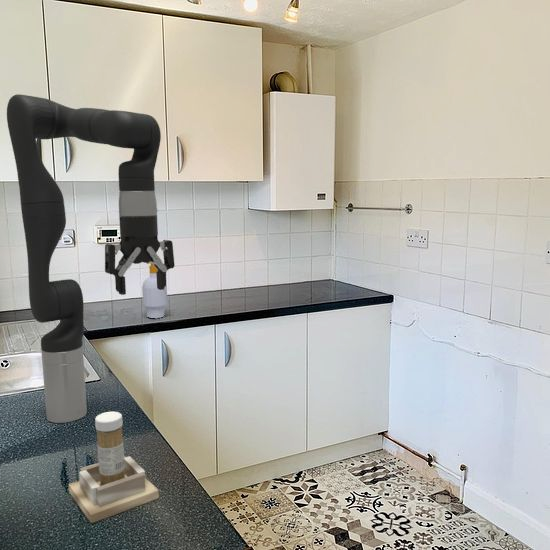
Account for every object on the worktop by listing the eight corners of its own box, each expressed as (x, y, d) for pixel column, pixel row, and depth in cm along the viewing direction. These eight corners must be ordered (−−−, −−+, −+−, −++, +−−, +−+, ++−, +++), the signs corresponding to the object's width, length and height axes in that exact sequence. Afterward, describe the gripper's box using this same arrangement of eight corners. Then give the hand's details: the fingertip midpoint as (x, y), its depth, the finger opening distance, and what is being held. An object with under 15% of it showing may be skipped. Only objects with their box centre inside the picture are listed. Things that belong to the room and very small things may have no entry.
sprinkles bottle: (117, 477, 100) (113, 408, 98) (131, 486, 97) (127, 415, 95) (94, 487, 97) (89, 416, 95) (108, 497, 94) (103, 423, 92)
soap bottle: (139, 317, 235) (136, 262, 231) (160, 313, 241) (158, 259, 238) (150, 321, 227) (148, 264, 223) (172, 317, 233) (170, 262, 230)
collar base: (68, 491, 98) (67, 468, 98) (132, 470, 105) (130, 449, 105) (91, 523, 89) (89, 498, 88) (158, 498, 96) (157, 474, 95)
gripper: (162, 212, 118) (165, 285, 120) (97, 214, 109) (101, 293, 112) (178, 213, 112) (180, 290, 114) (110, 215, 103) (115, 298, 106)
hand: (141, 291), depth 113 cm, fingers open, 8 cm apart
